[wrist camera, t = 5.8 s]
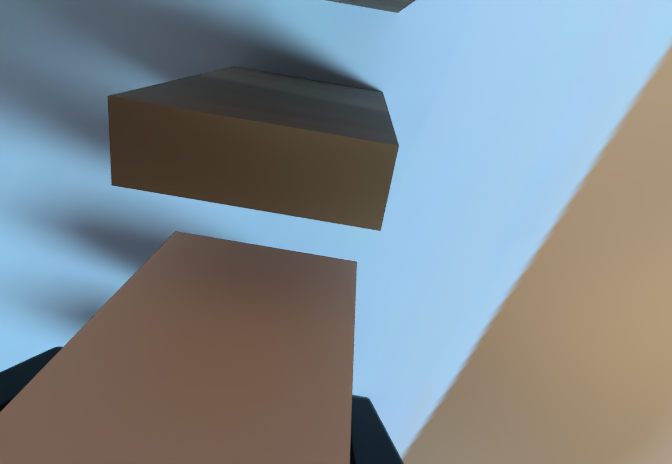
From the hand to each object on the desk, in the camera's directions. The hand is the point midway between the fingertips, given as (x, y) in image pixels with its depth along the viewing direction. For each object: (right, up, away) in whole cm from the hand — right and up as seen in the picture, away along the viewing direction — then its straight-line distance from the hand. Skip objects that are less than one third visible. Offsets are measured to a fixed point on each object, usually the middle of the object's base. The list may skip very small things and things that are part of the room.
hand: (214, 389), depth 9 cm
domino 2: (0, +2, +4) cm, 5 cm away
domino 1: (+1, +7, +7) cm, 10 cm away
